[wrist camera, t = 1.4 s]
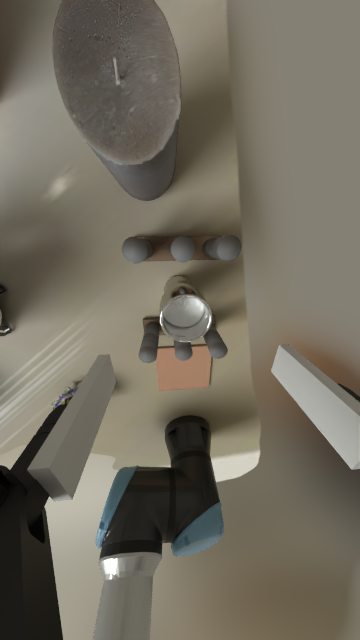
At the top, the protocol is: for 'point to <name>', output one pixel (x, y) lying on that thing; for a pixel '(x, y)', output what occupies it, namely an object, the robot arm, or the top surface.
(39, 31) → the top surface
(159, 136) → the pillar candle
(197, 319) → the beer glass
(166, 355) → the tile pad
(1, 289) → the coffee press
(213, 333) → the rack
